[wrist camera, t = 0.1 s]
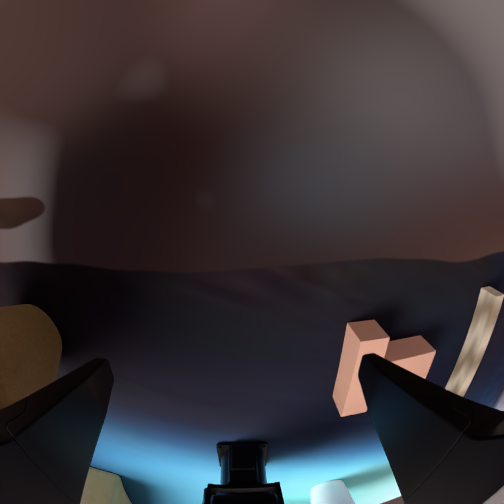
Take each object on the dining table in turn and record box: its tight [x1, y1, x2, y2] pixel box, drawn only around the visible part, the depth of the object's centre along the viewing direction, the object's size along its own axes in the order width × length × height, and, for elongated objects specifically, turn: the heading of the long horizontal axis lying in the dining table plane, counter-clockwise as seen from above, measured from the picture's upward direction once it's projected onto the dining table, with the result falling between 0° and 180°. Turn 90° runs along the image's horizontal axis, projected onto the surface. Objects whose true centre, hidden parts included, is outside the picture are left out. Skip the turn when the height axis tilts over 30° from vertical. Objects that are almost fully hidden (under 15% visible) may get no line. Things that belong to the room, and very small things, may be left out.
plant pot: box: [0, 304, 62, 409], centre depth 16 cm, size 15×15×16 cm
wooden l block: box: [445, 286, 504, 397], centre depth 26 cm, size 20×13×3 cm, turn 0°
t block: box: [333, 320, 436, 417], centre depth 25 cm, size 10×10×4 cm
